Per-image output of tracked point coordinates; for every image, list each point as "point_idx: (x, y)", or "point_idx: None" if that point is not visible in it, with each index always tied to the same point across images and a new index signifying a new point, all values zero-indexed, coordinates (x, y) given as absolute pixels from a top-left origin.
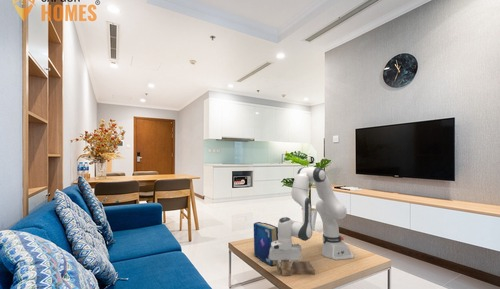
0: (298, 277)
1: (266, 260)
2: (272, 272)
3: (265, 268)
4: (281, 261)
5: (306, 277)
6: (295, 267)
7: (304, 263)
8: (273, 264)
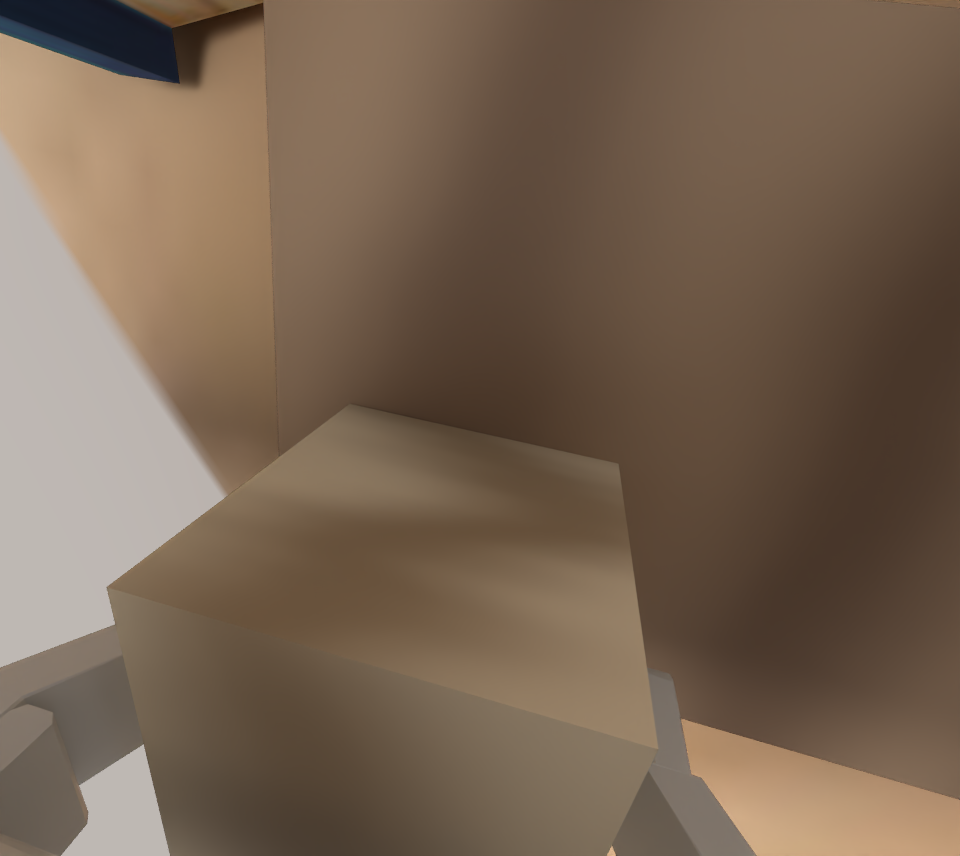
0: (687, 732)
1: None
2: (199, 414)
3: (28, 173)
4: (173, 812)
5: (864, 788)
6: (831, 609)
7: None
8: (192, 14)
